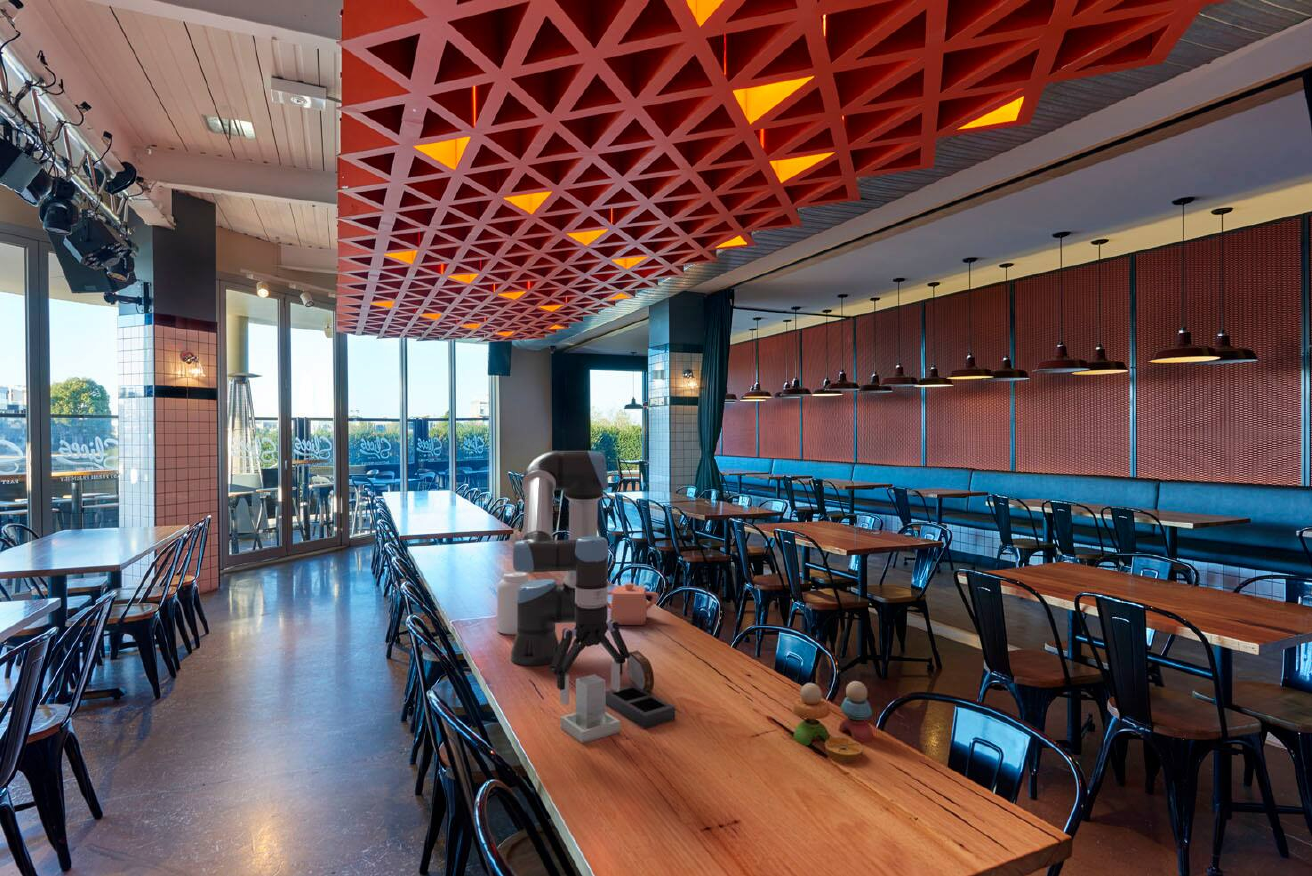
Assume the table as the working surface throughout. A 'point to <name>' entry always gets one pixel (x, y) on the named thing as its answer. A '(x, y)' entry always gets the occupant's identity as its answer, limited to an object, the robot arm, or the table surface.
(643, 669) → the tin
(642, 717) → the dark rectangular frame
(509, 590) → the white bottle
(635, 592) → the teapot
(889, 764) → the table surface
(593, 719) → the grey rectangular block
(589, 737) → the tray
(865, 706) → the wooden stacking toy
